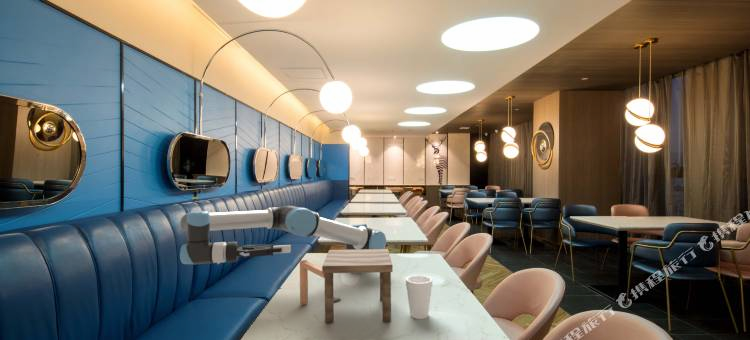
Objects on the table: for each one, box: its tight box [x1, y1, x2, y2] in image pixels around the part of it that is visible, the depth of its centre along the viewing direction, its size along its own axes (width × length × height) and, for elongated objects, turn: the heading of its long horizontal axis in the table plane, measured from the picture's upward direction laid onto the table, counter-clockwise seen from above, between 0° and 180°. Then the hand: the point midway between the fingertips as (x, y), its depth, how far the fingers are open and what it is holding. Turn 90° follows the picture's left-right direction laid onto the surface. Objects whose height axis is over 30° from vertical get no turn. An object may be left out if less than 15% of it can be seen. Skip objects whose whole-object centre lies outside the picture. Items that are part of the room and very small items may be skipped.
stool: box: [321, 248, 394, 325], centre depth 135 cm, size 24×24×20 cm
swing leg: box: [299, 259, 325, 305], centre depth 134 cm, size 20×3×16 cm, turn 37°
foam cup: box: [405, 275, 433, 320], centre depth 129 cm, size 10×9×13 cm
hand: (290, 248), depth 140 cm, fingers closed
